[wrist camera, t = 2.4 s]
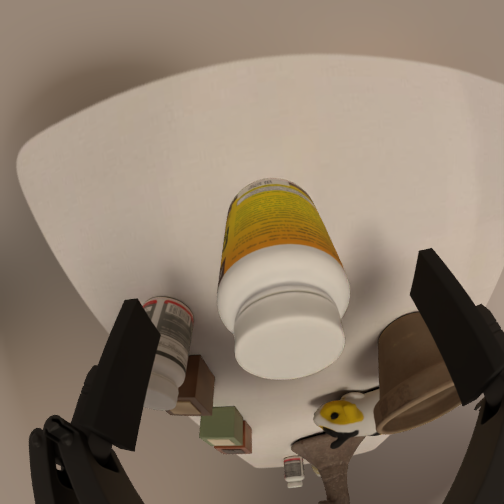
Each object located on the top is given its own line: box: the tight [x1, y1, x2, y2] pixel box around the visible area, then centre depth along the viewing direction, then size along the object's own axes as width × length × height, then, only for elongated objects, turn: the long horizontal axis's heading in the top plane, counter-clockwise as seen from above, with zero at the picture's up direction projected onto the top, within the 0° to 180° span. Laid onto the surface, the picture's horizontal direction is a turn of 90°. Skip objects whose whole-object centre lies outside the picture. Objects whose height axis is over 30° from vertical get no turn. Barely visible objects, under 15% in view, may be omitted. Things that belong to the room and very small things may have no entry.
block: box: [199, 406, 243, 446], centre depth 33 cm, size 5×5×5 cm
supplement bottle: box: [217, 178, 350, 380], centre depth 13 cm, size 6×6×10 cm
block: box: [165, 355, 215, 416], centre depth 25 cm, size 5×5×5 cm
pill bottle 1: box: [143, 297, 194, 411], centre depth 19 cm, size 5×5×8 cm
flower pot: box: [373, 312, 462, 434], centre depth 21 cm, size 12×11×10 cm
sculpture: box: [291, 433, 366, 504], centre depth 40 cm, size 17×17×20 cm
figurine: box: [313, 389, 381, 449], centre depth 30 cm, size 8×15×8 cm, turn 73°
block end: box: [214, 421, 252, 454], centre depth 37 cm, size 5×5×5 cm
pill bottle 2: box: [284, 456, 304, 488], centre depth 55 cm, size 5×5×10 cm
